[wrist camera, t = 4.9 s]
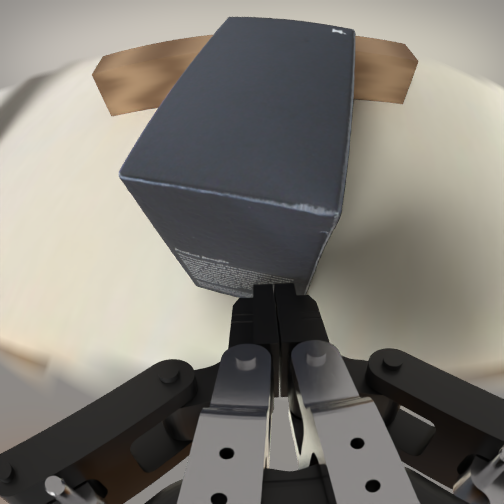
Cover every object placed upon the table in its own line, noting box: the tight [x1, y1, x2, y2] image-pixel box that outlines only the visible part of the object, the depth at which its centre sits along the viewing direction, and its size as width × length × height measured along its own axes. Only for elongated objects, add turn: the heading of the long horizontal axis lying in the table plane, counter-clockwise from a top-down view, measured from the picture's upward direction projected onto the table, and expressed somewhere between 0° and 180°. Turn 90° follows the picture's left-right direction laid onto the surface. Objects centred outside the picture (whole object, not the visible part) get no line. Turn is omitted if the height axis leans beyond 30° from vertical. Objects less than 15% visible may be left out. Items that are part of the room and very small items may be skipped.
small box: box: [119, 17, 355, 298], centre depth 14 cm, size 11×6×10 cm, turn 165°
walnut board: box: [92, 35, 418, 116], centre depth 21 cm, size 26×3×5 cm, turn 92°
